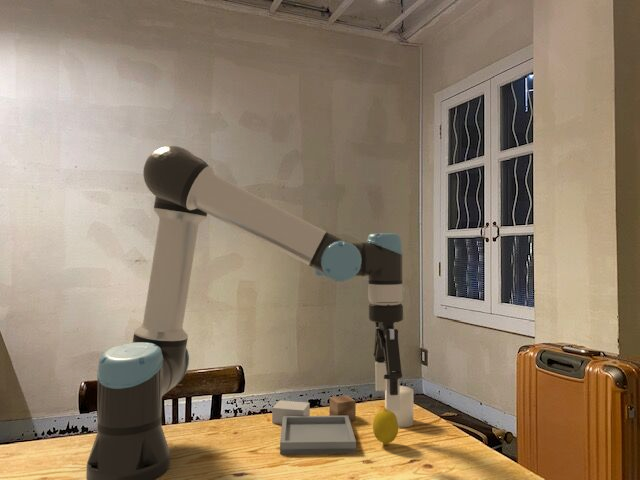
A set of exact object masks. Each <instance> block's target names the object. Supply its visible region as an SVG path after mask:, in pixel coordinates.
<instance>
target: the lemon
mask: <svg viewBox="0 0 640 480" xmlns="http://www.w3.org/2000/svg"><path fill="white" fill-rule="evenodd" d="M372 432H373V435H374V437H375V439H377V441H378V442H380V443H382V444H383V446H387V445H388V444H390V443H392V442H393V441H395V439H397V436H398V433H399V427H398V422H397V418H396V416H395V415H394V413H393V412H391V411H390V410H386V408H383V409H381V410H379V411H378V412H376V414H375V415H374V418H373V422H372Z"/></svg>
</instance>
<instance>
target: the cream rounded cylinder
mask: <svg viewBox="0 0 640 480" xmlns="http://www.w3.org/2000/svg"><path fill="white" fill-rule="evenodd" d="M414 394H415V393H414V389H413V388H411V387H409V386H404V385H400V410H390V411H391V412H393V413H394V415H395V416H396V418H397V422H398V428H408V427H411V426H412V425H414ZM384 407H385V408H386V391H384Z"/></svg>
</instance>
